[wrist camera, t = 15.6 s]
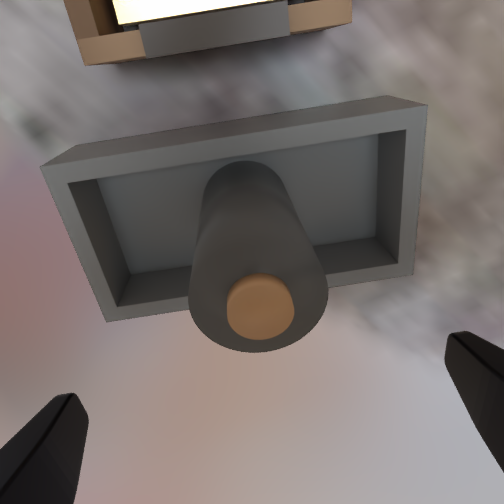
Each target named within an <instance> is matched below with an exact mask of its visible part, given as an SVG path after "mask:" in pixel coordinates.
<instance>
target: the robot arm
mask: <svg viewBox="0 0 504 504" xmlns="http://www.w3.org/2000/svg"><path fill="white" fill-rule="evenodd" d="M445 365H446V368H447V370H448V372H449V374H450V376H451V378H452V380H453V382H454V384H455V386H456V388H457V390H458V392H459V394H460V396H461V399H462V401H463V403H464V405H465V407H466V408H467V410H468V413H469V414H470V417H471V419H472V421H473V423H474V424H475V426H476V428H477V430H478V432H479V433H480V435H481V437H482V439H483V440H484V442H485V443H486V445H487V446H488V448H489V450H490V451H491V453H492V455H493V456H494V458H495V459H496V461H497V463H498V464H499V466H500V467H501V469H502V470H503V472H504V349H502V348H500V347H498V346H496V345H494V344H492V343H490V342H488V341H486V340H484V339H482V338H481V337H479V336H477V335H475V334H473V333H471V332H468V331H462V332H455V333H451V334H449V336H448V338H447V345H446V351H445ZM88 424H89V420H88V415H87V412H86V411H85V409H84V407H83V405H82V404H81V401H80V399H79V398H78V396H77V395H76V394H75V393H67V394H61V395H57V396H56V397H54V398H53V399H52V400H51V401H50V402H49V403H48V404H47V405H46V406H45V407H44V408H43V409H41V410H40V412H38V414H36V415H35V416H34V417H33V418H32V419H31V420H30V421H29V422H28V423H27V424H26V425H25V426H24V427H23V428H22V429H21V430H20V431H19V432H18V433H17V434H16V435H14V437H12V438H11V439H10V440H9V441H8V442H7V443H6V444H5V445H4V446H3V447H2V448H1V449H0V504H73V503H74V499H75V495H76V491H77V485H78V481H79V476H80V470H81V464H82V459H83V453H84V447H85V442H86V436H87V430H88Z"/></svg>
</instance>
